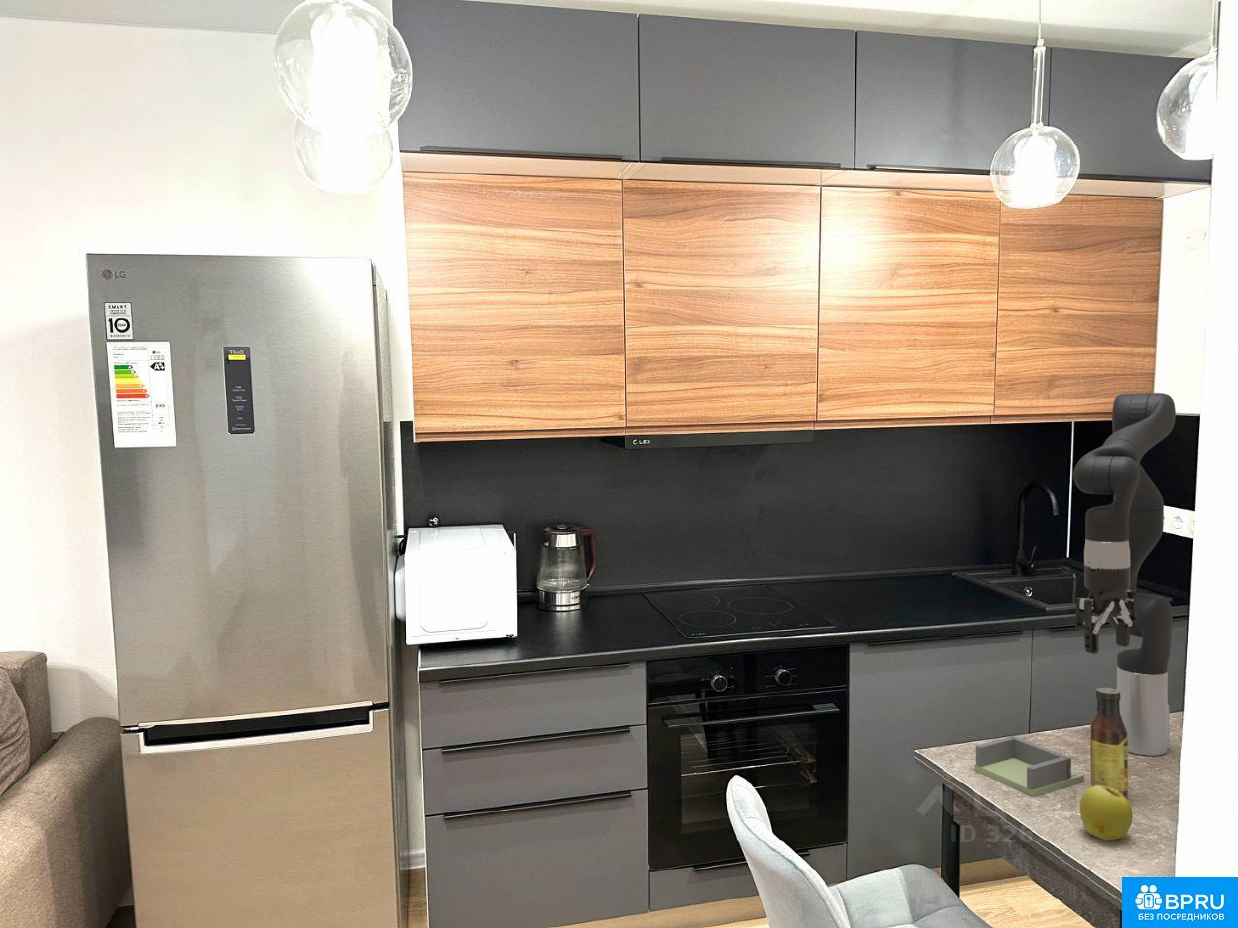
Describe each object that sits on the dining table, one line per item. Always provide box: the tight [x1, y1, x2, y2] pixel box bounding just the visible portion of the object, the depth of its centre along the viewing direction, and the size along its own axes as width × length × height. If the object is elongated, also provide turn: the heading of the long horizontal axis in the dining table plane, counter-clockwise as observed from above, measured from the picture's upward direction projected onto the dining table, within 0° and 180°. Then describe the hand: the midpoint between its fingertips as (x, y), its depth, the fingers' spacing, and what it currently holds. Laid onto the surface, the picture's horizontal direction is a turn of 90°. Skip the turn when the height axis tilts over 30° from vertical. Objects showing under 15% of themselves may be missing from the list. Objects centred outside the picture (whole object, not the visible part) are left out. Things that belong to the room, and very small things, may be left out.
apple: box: [1079, 778, 1133, 841], centre depth 151 cm, size 8×8×10 cm
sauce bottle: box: [1089, 687, 1129, 799], centre depth 166 cm, size 7×6×20 cm
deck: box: [974, 735, 1085, 797], centre depth 175 cm, size 14×14×5 cm
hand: (1107, 648), depth 165 cm, fingers open, 8 cm apart
